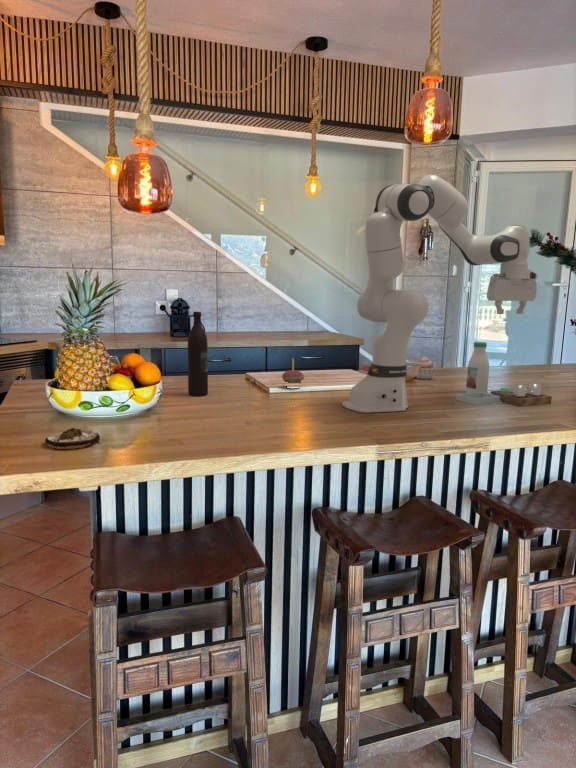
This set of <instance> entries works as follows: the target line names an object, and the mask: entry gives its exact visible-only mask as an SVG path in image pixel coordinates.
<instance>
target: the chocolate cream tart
mask: <svg viewBox="0 0 576 768" xmlns="http://www.w3.org/2000/svg"><path fill="white" fill-rule="evenodd" d="M100 439H101V436H100V434H99V432H93V431H92V430H88V429H80V428H75V427H72V428H69V429H67V430H63V431H58V432H55V433H52V434H49V435H48V436H47V437H45V439H44V441H45V445H47V446H48V447H49V448H50V449H52V448H53V449H54V450H55V451H76V450H77V451H78V450H82V449H86V448H93V447H94V445H96V444H99V445H102V442H100ZM53 449H52V450H53Z"/></svg>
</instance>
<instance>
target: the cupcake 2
mask: <svg viewBox="0 0 576 768" xmlns="http://www.w3.org/2000/svg"><path fill="white" fill-rule="evenodd" d="M418 362H419V363H421V368H420V370H419V373H418V379H417V380H421V379H422V380H423V381H424V380H425V381H428V380H429V379H430V380H432V379H433V378H432V377H433V374H434V373H435V370H436V368H435V367H434V366H435V365H434V364H433V360H430V359H429V358H428V357H427V356H426V355H425V356H423V357H421V358H420V359H419V360H418Z"/></svg>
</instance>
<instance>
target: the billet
mask: <svg viewBox="0 0 576 768" xmlns="http://www.w3.org/2000/svg"><path fill="white" fill-rule="evenodd" d="M512 392H513V397H516V398H520V399H521V398H525V397H526V393H527V385H526V384H521V383H519V384H518V383H517V384H514V385H513V391H512Z"/></svg>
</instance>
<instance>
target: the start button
mask: <svg viewBox="0 0 576 768" xmlns="http://www.w3.org/2000/svg"><path fill="white" fill-rule="evenodd" d="M510 391H512V389H511V388H510V387H500V392H501V393H505V394H507V393H510Z"/></svg>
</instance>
